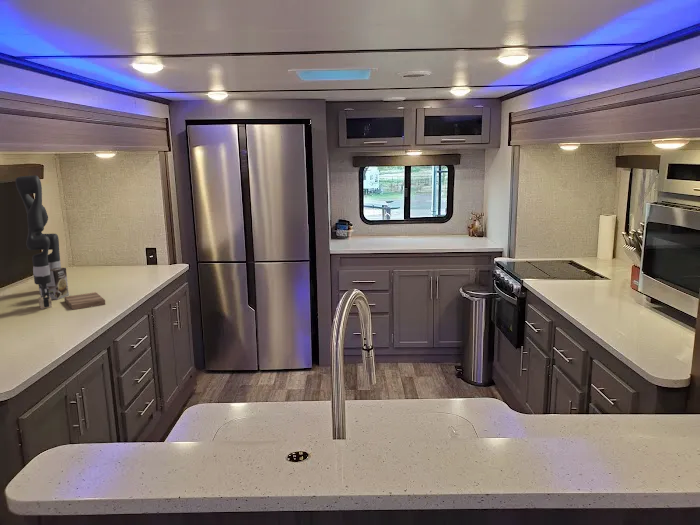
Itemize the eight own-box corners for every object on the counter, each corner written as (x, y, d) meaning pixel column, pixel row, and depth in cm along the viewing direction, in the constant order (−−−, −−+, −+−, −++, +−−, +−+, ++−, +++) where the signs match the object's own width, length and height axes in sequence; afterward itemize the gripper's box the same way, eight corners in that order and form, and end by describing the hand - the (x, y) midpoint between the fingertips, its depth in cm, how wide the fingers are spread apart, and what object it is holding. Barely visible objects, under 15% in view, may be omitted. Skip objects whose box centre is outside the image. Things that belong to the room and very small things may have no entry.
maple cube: (39, 306, 287) (38, 297, 286) (50, 305, 290) (49, 296, 289) (41, 309, 283) (40, 299, 282) (52, 307, 286) (51, 298, 285)
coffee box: (58, 299, 300) (54, 271, 297) (47, 299, 302) (44, 270, 298) (69, 295, 309) (66, 267, 306) (59, 294, 310) (56, 267, 307)
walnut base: (64, 301, 297) (64, 296, 297) (96, 296, 307) (95, 292, 306) (72, 309, 282) (71, 304, 281) (105, 304, 291) (105, 299, 291)
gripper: (31, 272, 287) (35, 303, 290) (35, 277, 275) (39, 309, 279) (47, 270, 291) (51, 301, 294) (52, 275, 280) (56, 307, 283)
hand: (45, 305), depth 287 cm, fingers open, 6 cm apart
